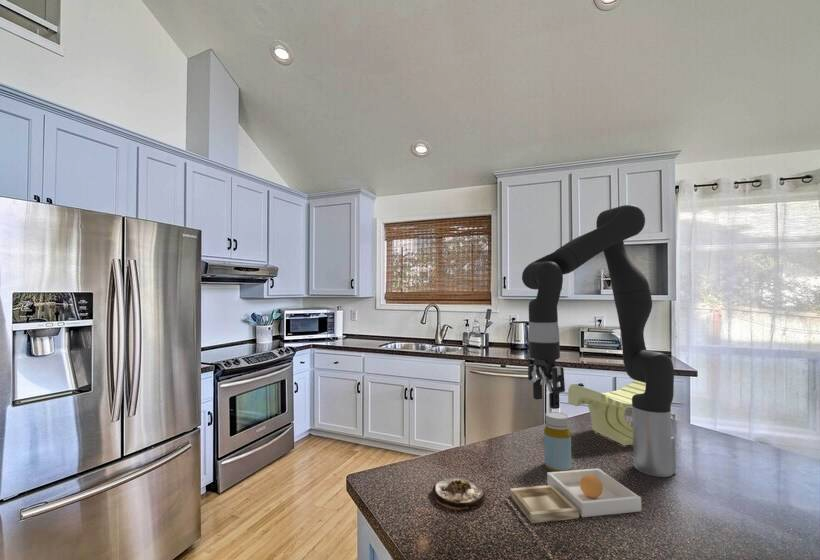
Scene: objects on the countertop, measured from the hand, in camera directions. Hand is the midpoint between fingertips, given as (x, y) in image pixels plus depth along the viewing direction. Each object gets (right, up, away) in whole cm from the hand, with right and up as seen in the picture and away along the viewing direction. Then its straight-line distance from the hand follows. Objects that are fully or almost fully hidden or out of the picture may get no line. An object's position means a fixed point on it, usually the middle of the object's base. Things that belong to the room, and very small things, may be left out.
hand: (545, 403), depth 95 cm
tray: (-4, -21, -9) cm, 24 cm away
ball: (+9, -21, -5) cm, 23 cm away
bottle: (+7, -22, +11) cm, 26 cm away
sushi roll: (-23, -22, -4) cm, 32 cm away
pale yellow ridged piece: (+39, -24, +36) cm, 58 cm away
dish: (+9, -21, -5) cm, 24 cm away
